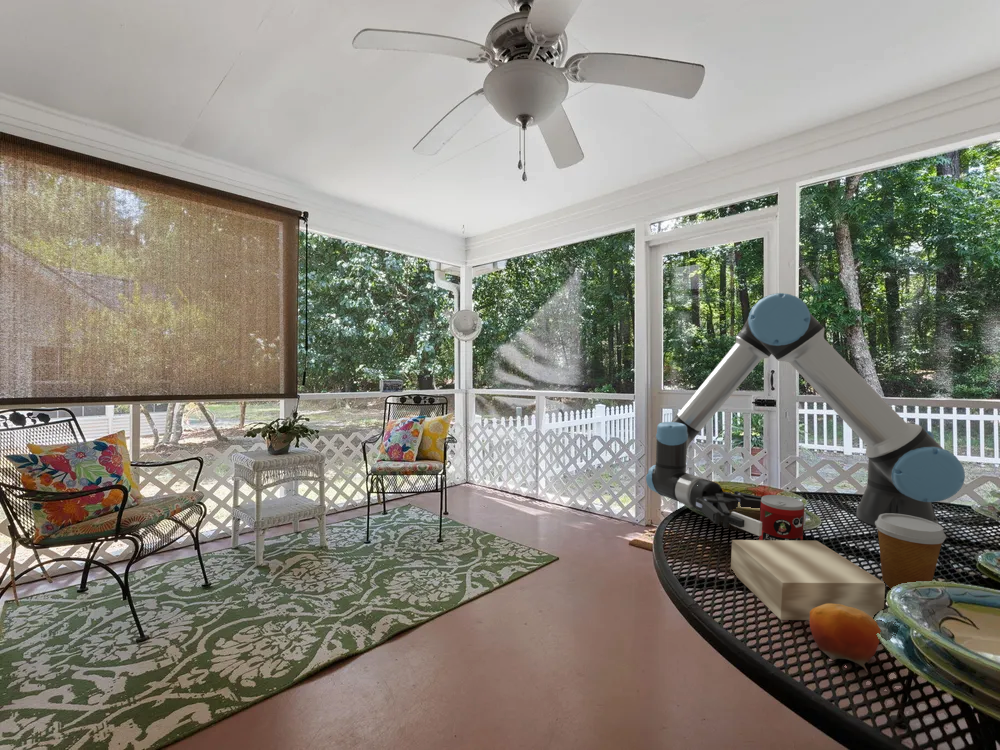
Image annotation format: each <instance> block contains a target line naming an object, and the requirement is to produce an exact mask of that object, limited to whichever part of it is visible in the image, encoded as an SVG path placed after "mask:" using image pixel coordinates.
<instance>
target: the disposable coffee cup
mask: <svg viewBox="0 0 1000 750" xmlns="http://www.w3.org/2000/svg"><path fill="white" fill-rule="evenodd" d="M875 525H876V526H875V528H876V530H877V535H878V544H879V545H878V546H879V555H880V556H879V558H880V566H881V567H880V568H881V579H882V580H883V581H884V582H885V583H886V584H887V585H888V586H889V588H892V587H893V586H896V585H898V584H901V583H907V582H916V581H932V582H933V579H934V576H935V571H936V568H937V563H938V561H939V560H938V559H939V556H940V551H941V548H942V544H943V543H944V542H945V540H946V539H947V535H946V534H945V532H944V528H943V526H942V525H940V524H939V523H938V524H937V523H935V522H932V521H929V520H926V519H923V518H919V517H915V516H910V515H904V514H894V513H885V514H880V515H879V517H878V519H877V520H876V521H875ZM882 580H881V581H882ZM889 588H888V589H889Z"/></svg>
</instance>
